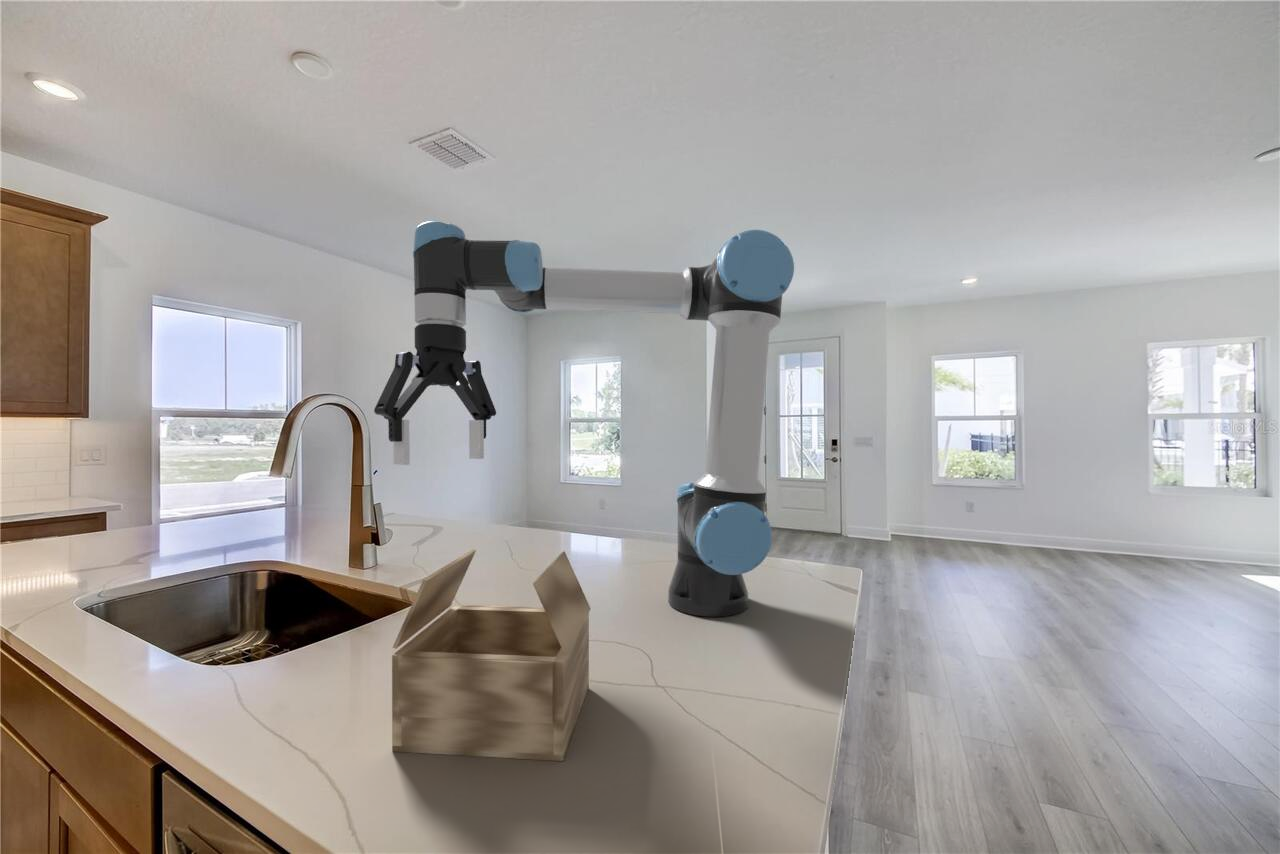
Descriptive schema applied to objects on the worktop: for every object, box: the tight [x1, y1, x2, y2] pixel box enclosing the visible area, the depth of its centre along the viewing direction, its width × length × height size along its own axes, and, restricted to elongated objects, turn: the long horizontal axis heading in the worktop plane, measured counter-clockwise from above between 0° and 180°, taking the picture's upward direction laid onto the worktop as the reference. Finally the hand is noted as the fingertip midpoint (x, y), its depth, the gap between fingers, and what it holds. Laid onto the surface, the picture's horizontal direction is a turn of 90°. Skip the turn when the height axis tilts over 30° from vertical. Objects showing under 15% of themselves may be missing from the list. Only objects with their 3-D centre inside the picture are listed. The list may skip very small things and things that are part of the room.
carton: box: [391, 604, 590, 762], centre depth 58 cm, size 18×15×10 cm
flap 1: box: [392, 548, 477, 650], centre depth 58 cm, size 8×13×1 cm
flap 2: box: [532, 550, 591, 655], centre depth 57 cm, size 8×13×1 cm
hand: (441, 461), depth 79 cm, fingers open, 13 cm apart
